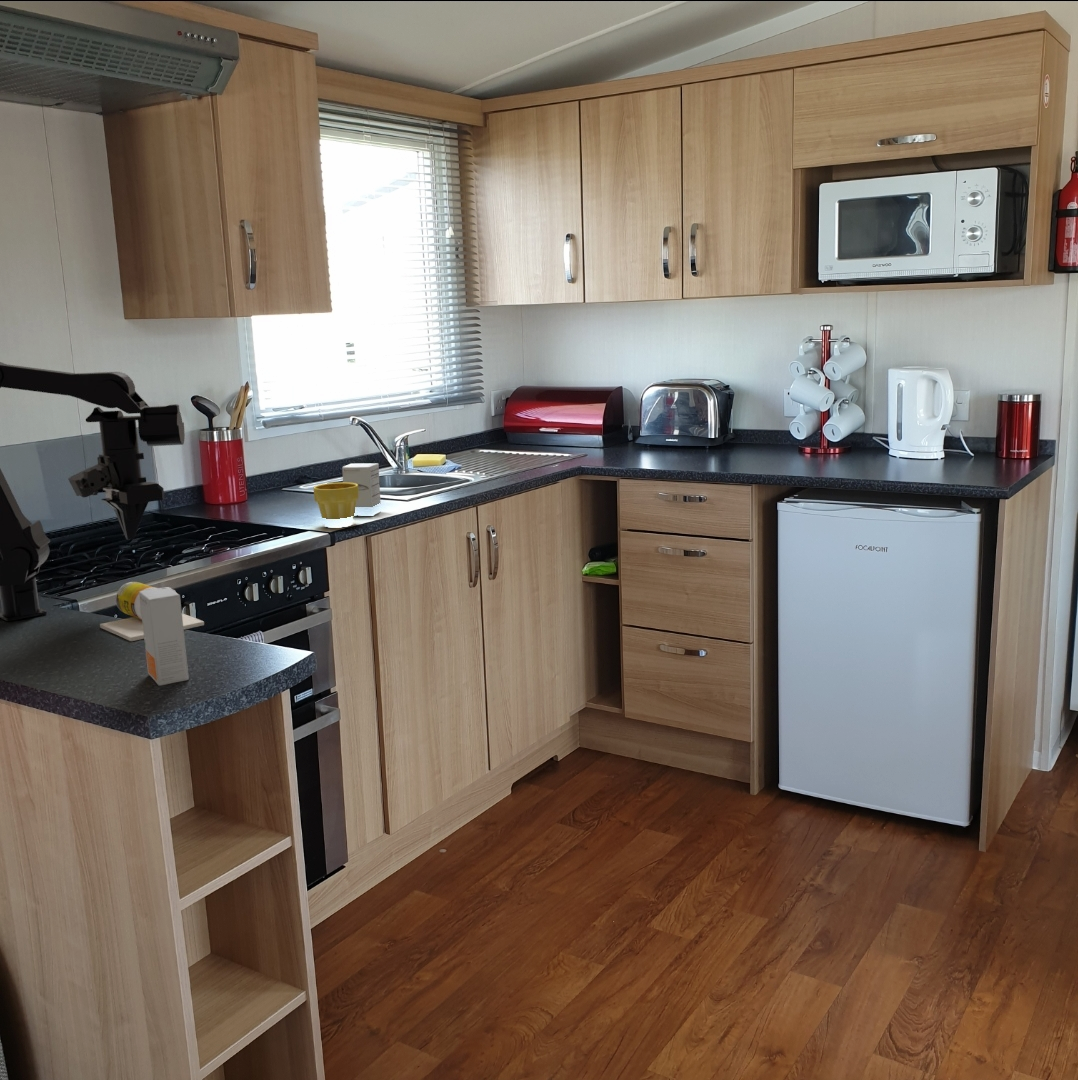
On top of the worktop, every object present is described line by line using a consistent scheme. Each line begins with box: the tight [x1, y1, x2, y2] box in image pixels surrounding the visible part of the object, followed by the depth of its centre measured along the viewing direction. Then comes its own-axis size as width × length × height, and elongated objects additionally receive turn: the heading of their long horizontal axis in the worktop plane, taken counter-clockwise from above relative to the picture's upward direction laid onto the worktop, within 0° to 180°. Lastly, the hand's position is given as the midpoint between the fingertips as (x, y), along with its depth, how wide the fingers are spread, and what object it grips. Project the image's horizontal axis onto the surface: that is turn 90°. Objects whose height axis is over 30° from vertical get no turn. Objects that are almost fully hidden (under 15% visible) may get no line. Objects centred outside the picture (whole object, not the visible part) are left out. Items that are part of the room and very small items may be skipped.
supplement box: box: [341, 462, 381, 507], centre depth 275 cm, size 7×7×13 cm
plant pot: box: [313, 481, 359, 519], centre depth 260 cm, size 10×10×10 cm
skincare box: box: [139, 586, 190, 686], centre depth 149 cm, size 6×4×12 cm
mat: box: [99, 612, 205, 642], centre depth 177 cm, size 12×12×1 cm
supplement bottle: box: [115, 581, 158, 620], centre depth 179 cm, size 6×6×10 cm
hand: (130, 539), depth 188 cm, fingers closed
